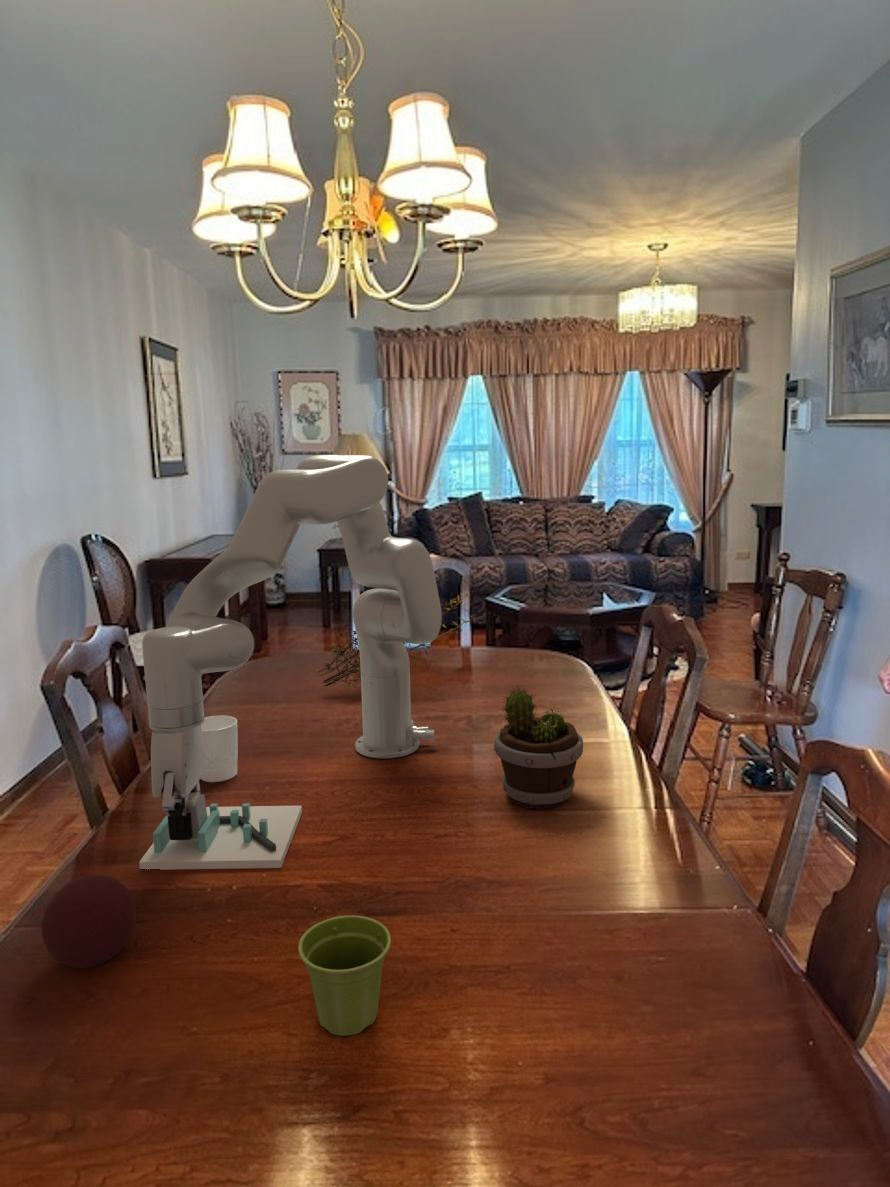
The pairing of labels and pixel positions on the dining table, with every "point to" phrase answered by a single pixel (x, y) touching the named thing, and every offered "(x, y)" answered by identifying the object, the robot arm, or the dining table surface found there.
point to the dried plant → (359, 651)
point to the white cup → (220, 748)
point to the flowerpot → (536, 753)
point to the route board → (231, 843)
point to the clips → (235, 821)
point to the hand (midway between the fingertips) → (186, 830)
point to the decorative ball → (88, 921)
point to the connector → (196, 811)
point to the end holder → (204, 835)
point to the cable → (255, 833)
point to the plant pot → (345, 970)
